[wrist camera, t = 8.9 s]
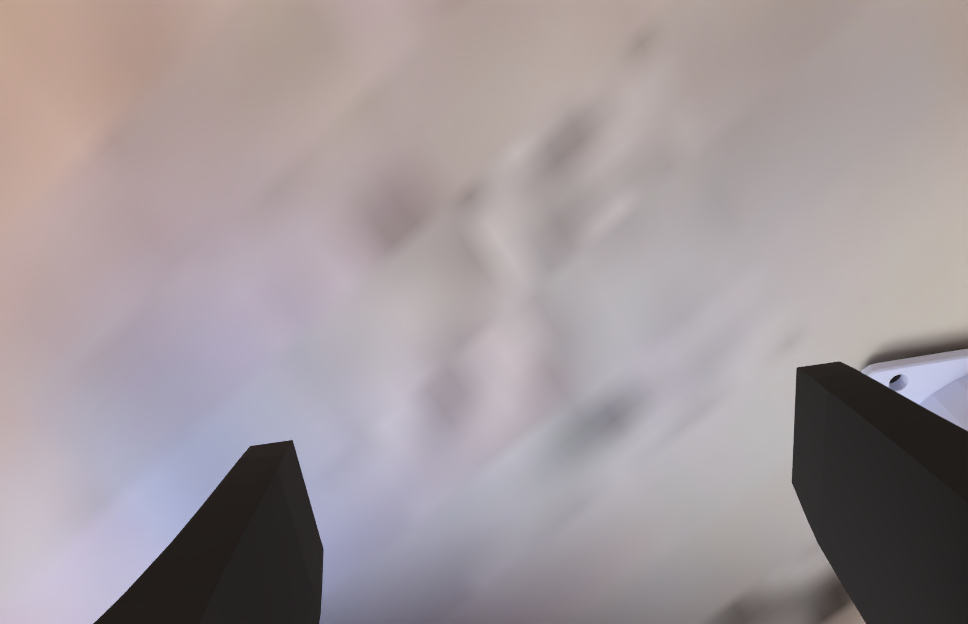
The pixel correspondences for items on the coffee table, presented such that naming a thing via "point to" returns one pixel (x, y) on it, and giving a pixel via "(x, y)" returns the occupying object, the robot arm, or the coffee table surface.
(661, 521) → the coffee table surface
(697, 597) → the coffee table surface
